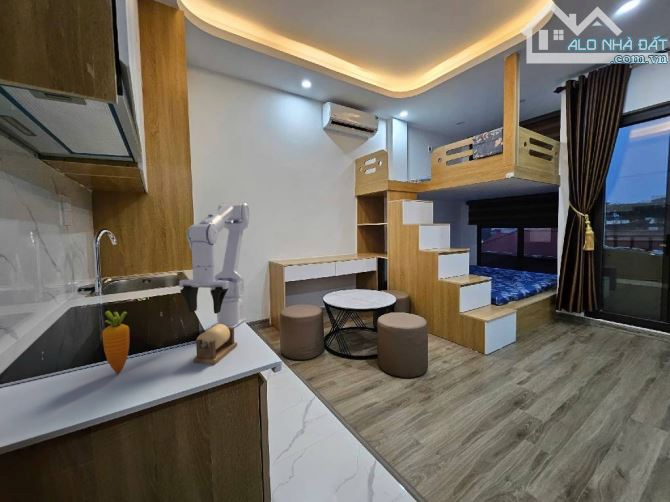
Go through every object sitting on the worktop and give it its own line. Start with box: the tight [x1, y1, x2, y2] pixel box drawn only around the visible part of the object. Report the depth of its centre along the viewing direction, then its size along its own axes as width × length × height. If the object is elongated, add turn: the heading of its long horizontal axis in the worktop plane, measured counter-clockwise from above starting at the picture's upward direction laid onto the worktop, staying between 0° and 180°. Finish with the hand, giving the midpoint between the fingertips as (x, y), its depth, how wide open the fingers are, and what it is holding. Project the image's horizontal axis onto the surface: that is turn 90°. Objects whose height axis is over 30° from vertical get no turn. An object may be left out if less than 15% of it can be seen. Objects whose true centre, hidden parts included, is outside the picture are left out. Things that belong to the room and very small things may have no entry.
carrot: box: [101, 310, 130, 374], centre depth 66 cm, size 5×5×15 cm
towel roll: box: [196, 324, 230, 349], centre depth 76 cm, size 6×10×6 cm
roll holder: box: [193, 327, 238, 365], centre depth 76 cm, size 6×11×6 cm, turn 171°
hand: (205, 311), depth 83 cm, fingers open, 7 cm apart
